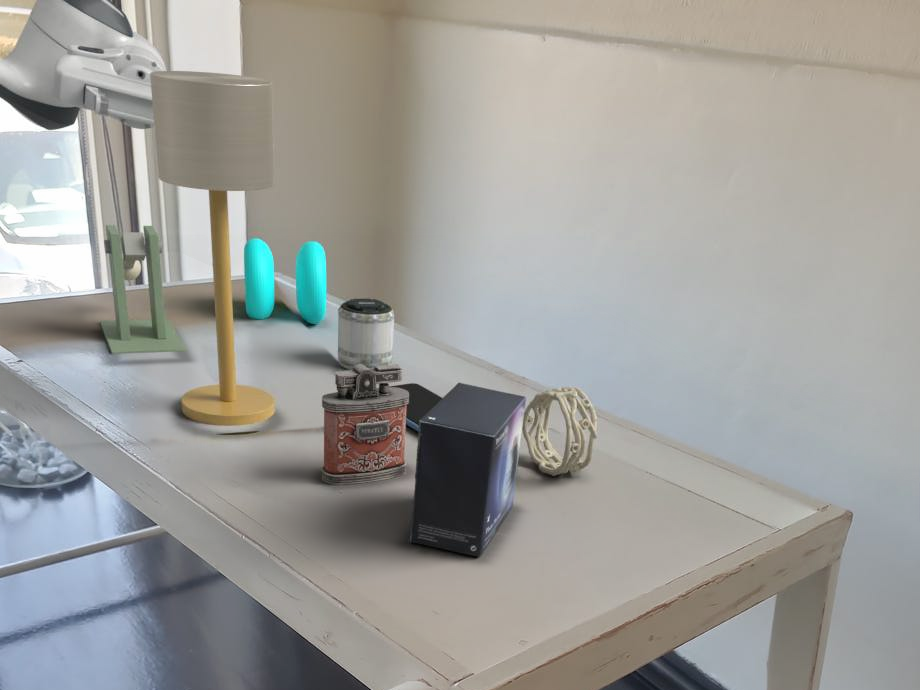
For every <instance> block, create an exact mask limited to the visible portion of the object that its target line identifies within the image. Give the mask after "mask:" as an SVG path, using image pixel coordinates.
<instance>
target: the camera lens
mask: <svg viewBox="0 0 920 690" xmlns="http://www.w3.org/2000/svg"><path fill="white" fill-rule="evenodd" d="M337 316H338V317H337V359H338V364H339V366H341V368H342V369H343V371H350V370H352V369H353V367H354V366H355V365H357V364H362V365H364V366H366V367H367V368H368V369H372V368H375V366H384V365H392V364H393V363H392V362H393V355H394V353H393V352H394V351H393V350H394V332H395V331H394V329H395V311H394V310H393V308H392V307H391V306H390V305H389V304H387V303H385V302H383V301H381V300H379V299H376V298H350V299H349V300H346V301H344V302H342V303H341V304H340V306H339V307H338V309H337Z"/></svg>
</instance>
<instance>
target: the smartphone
mask: <svg viewBox="0 0 920 690" xmlns="http://www.w3.org/2000/svg"><path fill="white" fill-rule="evenodd" d="M389 387H396V388H401V389H405V390H406V391H408V392H409V403H408V404H407V407H406V426H408V427H409V428H411V429H413V430H415V431H416V432H417V433H418V432H419V421H420V420H421V419H422V418H423V417H424V416H425V415H426V414H427V413H428V412H429V411H430V410H431V409H432V408H433V407H434V406H435V405H436V404H437V403H438V402H439V401H440V400H441V399H442V398H443V397H442V396H440V395H438V394H437V393H435V392H433V391H432V390H430V389H427V388H426V387H424V386H423V385H421V384H418V383H413V382H412V383H404V384H397V385H389Z"/></svg>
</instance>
